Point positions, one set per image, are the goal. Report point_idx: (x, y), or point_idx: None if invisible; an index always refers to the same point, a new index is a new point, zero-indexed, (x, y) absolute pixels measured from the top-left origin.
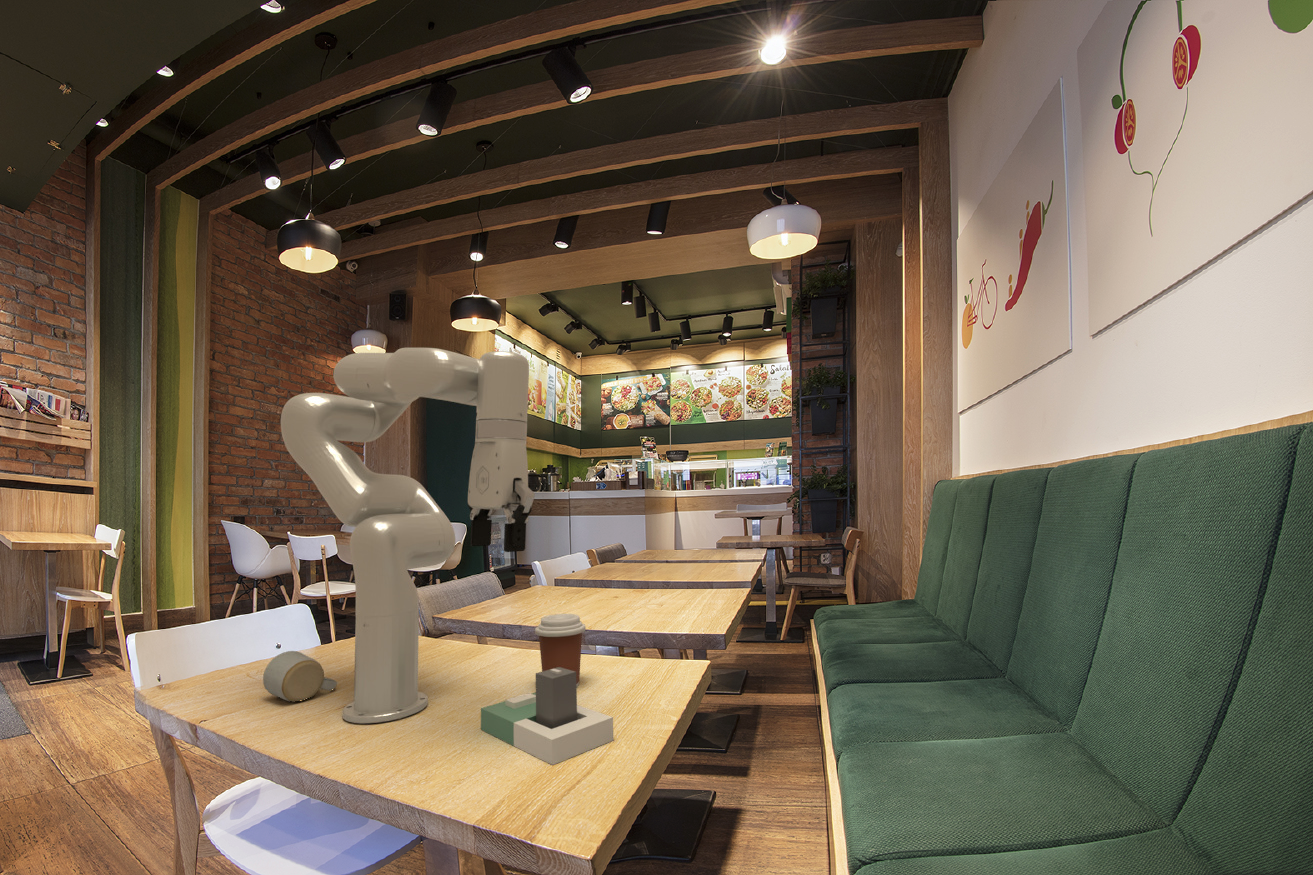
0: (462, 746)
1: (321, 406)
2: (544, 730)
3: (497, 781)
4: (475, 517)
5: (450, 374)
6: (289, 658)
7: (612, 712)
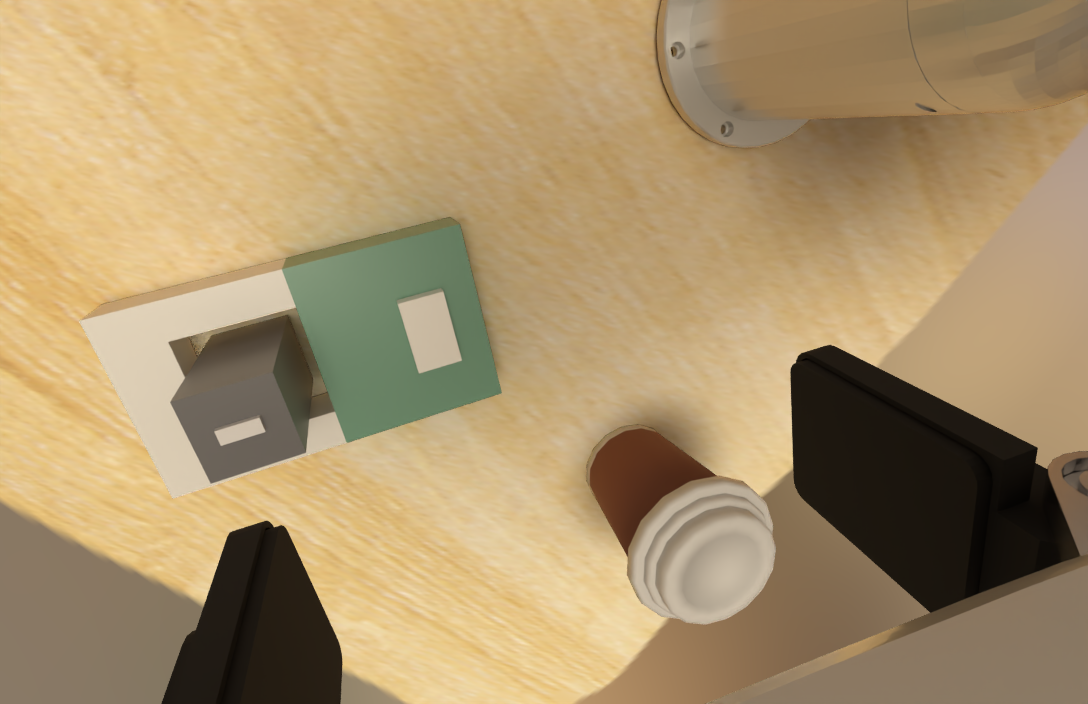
0: (360, 145)
1: None
2: (167, 323)
3: (65, 158)
4: (1047, 507)
5: None
6: None
7: (372, 517)
